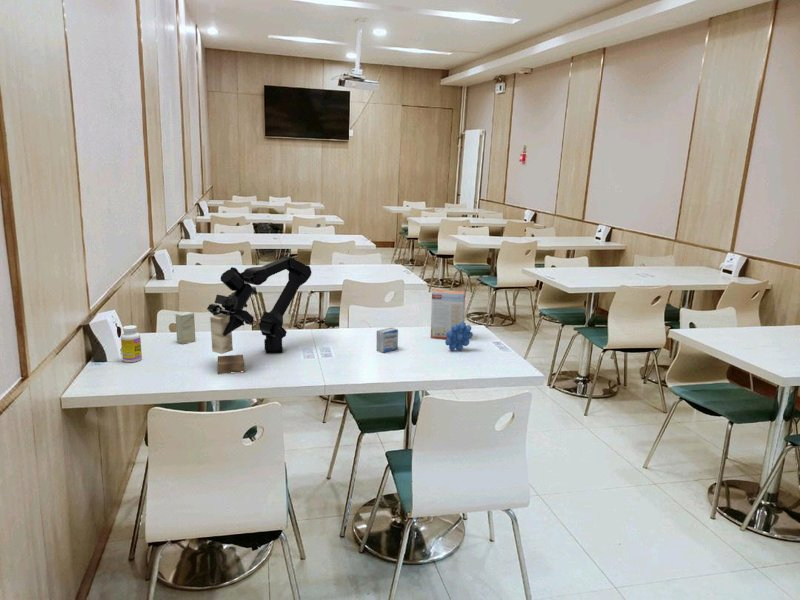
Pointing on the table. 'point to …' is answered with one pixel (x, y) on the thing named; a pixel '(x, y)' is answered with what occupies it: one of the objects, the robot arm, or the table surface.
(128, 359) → the supplement bottle
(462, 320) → the cracker box
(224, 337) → the oak post
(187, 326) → the skincare box
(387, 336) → the medicine box
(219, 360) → the walnut block
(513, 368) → the table surface
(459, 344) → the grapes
